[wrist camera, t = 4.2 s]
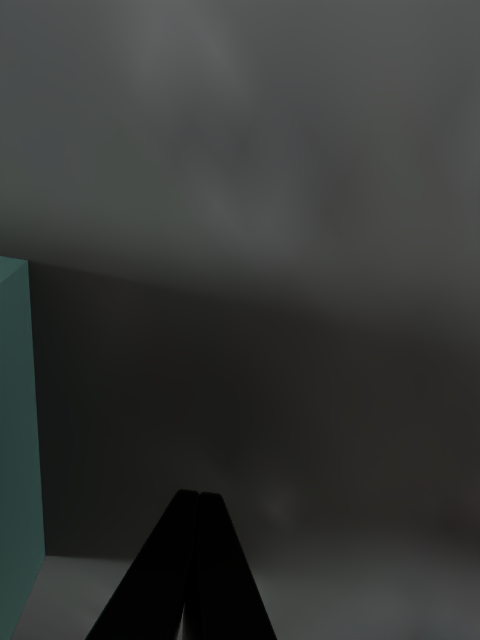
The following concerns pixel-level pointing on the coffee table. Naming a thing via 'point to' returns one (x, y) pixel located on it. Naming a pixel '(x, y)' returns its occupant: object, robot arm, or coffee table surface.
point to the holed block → (18, 448)
